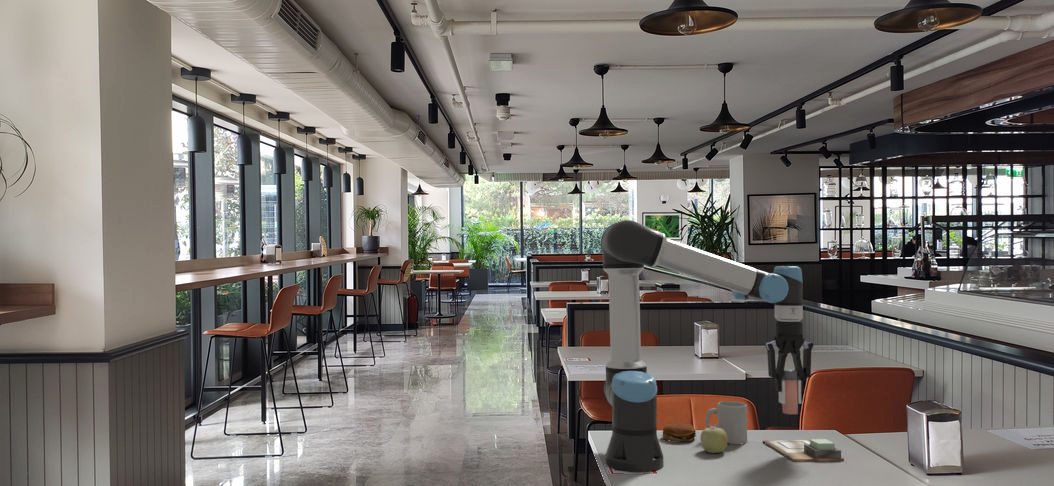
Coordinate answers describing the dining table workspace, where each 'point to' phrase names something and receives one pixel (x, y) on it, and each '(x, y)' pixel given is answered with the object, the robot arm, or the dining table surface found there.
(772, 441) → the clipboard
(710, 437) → the fruit
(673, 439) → the burger
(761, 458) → the dining table surface
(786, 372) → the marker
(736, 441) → the mug
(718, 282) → the robot arm
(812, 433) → the dining table surface
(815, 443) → the button
